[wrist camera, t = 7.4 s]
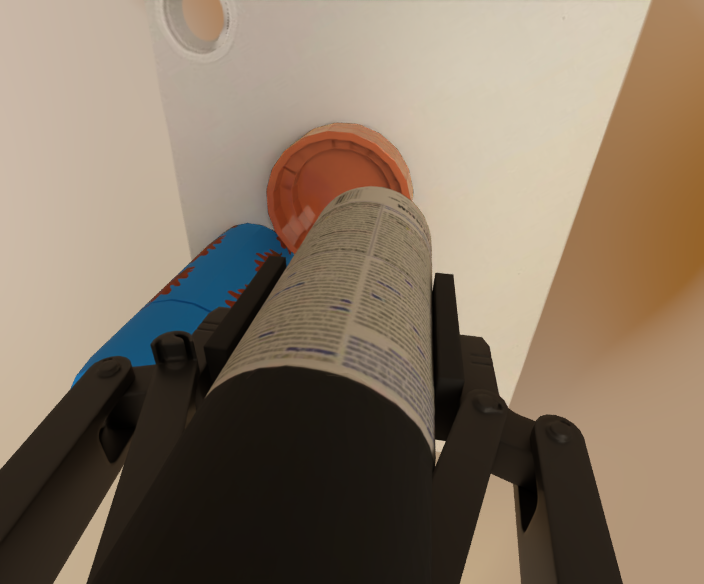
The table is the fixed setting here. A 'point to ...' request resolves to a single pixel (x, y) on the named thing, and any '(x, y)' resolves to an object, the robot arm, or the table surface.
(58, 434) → the robot arm
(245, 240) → the thermos
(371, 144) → the dish
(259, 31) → the table surface
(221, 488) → the spray can
